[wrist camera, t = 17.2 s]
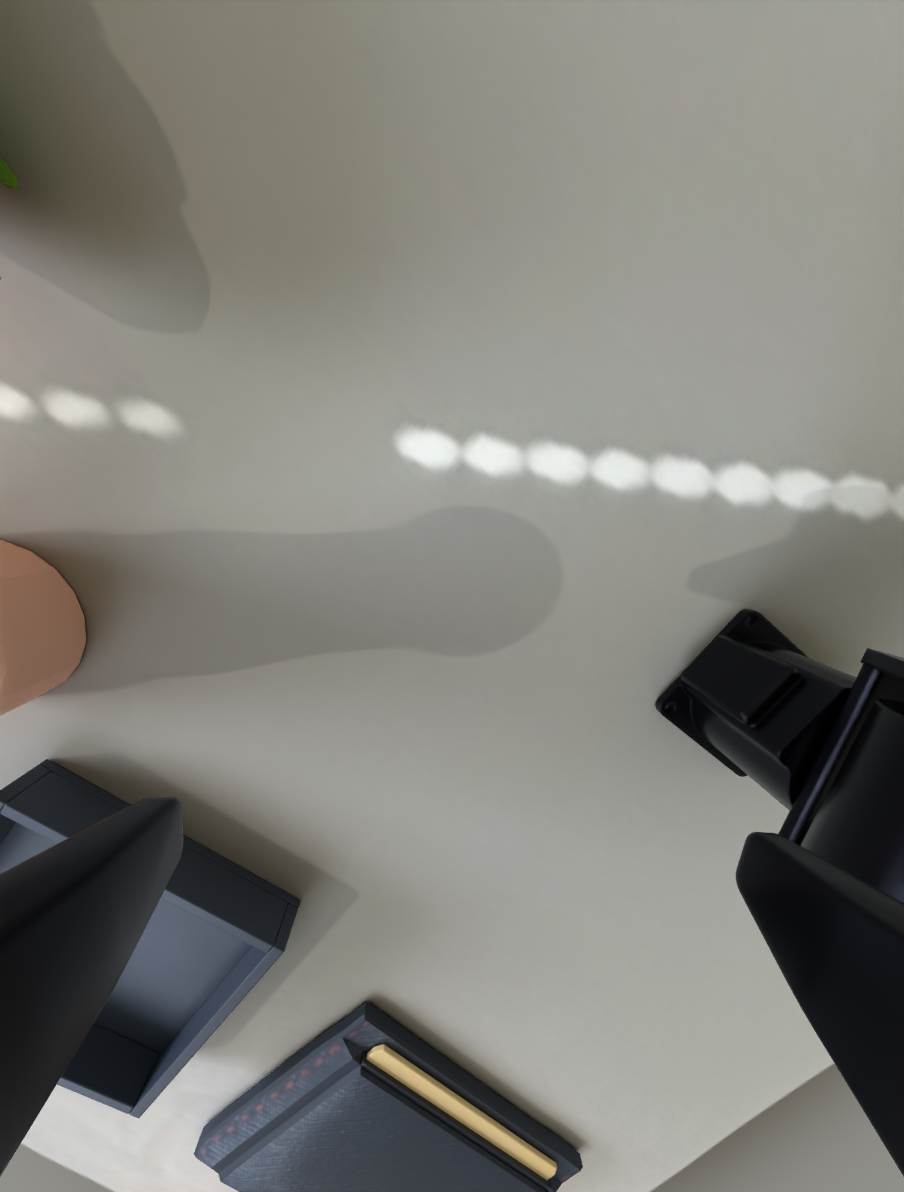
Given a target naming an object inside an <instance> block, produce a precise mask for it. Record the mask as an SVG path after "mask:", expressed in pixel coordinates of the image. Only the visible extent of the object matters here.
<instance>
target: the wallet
mask: <svg viewBox="0 0 904 1192" xmlns="http://www.w3.org/2000/svg"><path fill="white" fill-rule="evenodd" d="M194 1155H195V1157H196V1158H197V1159H199V1160H200V1161H202V1162H203V1163H204V1164H206V1165H207V1166H209V1167H210V1168H212V1169H213V1170H214V1171H216V1172H217V1173H219V1177H220V1181H221V1182H223V1183H224V1184H226V1185H228V1186H230V1187H232V1188H233V1189H235V1190H237V1191H239V1192H556V1191H557V1190H558V1188H559V1187H560V1185H561V1184H562V1183H563V1182H565V1181H566V1180H568V1179H569V1178H570V1177H572V1176H573V1175H575V1174H576V1173H578V1172H579V1171H581V1169H582V1168H583V1166H582V1161H581V1157H580V1153H578V1152H577V1151H576V1150H575V1149H574V1148H572V1147H571V1146H570V1145H569V1144H567V1143H566V1142H565V1141H564V1140H562V1139H561V1138H560V1137H558V1136H557V1135H555V1134H554V1133H552V1132H551V1131H549V1130H548V1129H546V1128H545V1127H543V1126H542V1125H540V1124H539V1123H537V1122H535V1121H534V1120H532V1119H531V1118H530V1117H528V1116H527V1115H525V1114H524V1113H523V1112H521V1111H520V1110H518V1109H517V1108H516V1107H514V1106H513V1105H511V1104H510V1103H508V1102H507V1101H506V1100H504V1099H503V1098H501V1097H500V1096H499V1095H497V1094H496V1093H494V1092H493V1091H492V1090H490V1089H489V1088H487V1087H486V1086H485V1085H483V1084H482V1083H480V1082H479V1081H478V1080H476V1079H475V1078H473V1077H472V1076H471V1075H469V1074H468V1073H466V1072H465V1071H463V1070H462V1069H461V1068H459V1067H458V1066H456V1065H455V1064H454V1063H452V1062H451V1061H449V1060H448V1059H447V1058H445V1057H444V1056H442V1055H441V1054H440V1053H438V1052H437V1051H435V1050H434V1049H433V1048H431V1047H430V1046H428V1045H427V1044H426V1043H424V1042H423V1041H421V1040H420V1039H418V1038H417V1037H416V1036H414V1035H413V1034H411V1033H410V1032H409V1031H407V1030H406V1029H404V1028H403V1027H402V1026H400V1025H399V1024H397V1023H396V1022H395V1021H393V1020H392V1019H390V1018H389V1017H388V1016H386V1015H385V1014H383V1013H382V1012H381V1011H379V1010H378V1009H376V1008H375V1007H374V1006H372V1005H371V1004H369V1003H368V1002H365V1003H363V1004H362V1005H361V1006H360V1007H358V1008H357V1009H356V1010H355V1011H353V1012H352V1013H351V1014H350V1015H348V1016H347V1017H346V1018H344V1019H343V1020H341V1021H340V1022H338V1023H337V1024H335V1025H334V1026H332V1027H331V1028H329V1029H328V1030H326V1031H325V1032H323V1033H322V1034H321V1035H320V1036H318V1037H317V1038H316V1039H314V1040H313V1041H312V1042H311V1043H309V1044H308V1045H307V1046H305V1047H304V1048H303V1049H301V1050H300V1051H299V1052H298V1053H296V1054H295V1055H294V1056H292V1057H291V1058H290V1059H289V1060H287V1061H286V1062H285V1063H283V1064H282V1065H281V1066H280V1067H278V1068H277V1069H276V1070H274V1071H273V1072H272V1073H271V1074H269V1075H268V1076H267V1077H265V1078H264V1079H263V1080H262V1081H260V1082H259V1083H258V1084H256V1085H255V1086H254V1087H253V1088H251V1089H250V1090H249V1091H248V1092H246V1093H245V1094H244V1095H242V1096H241V1097H240V1098H239V1099H237V1100H236V1101H235V1102H233V1103H232V1104H231V1105H230V1106H228V1107H227V1108H226V1109H224V1110H223V1111H222V1112H221V1113H220V1114H219V1115H217V1116H216V1117H215V1118H214V1119H213V1120H211V1121H210V1122H209V1123H208V1124H207V1125H206V1126H204V1129H203V1131H202V1133H201V1136H200V1138H199V1141H198V1144H197V1146H196V1149H195V1152H194Z"/></svg>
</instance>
